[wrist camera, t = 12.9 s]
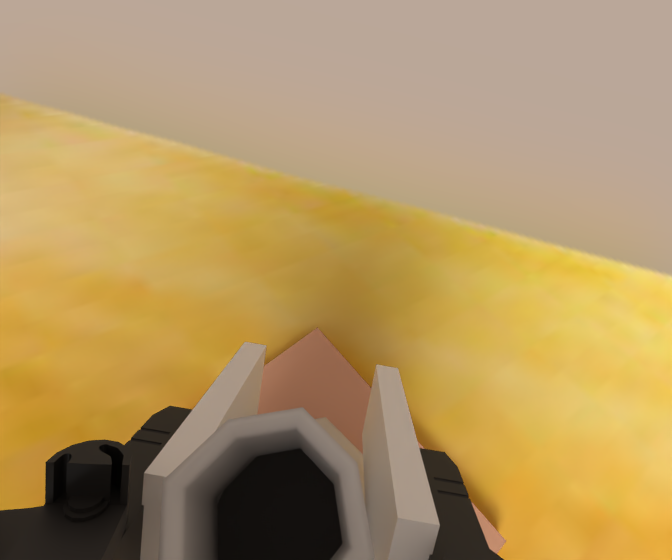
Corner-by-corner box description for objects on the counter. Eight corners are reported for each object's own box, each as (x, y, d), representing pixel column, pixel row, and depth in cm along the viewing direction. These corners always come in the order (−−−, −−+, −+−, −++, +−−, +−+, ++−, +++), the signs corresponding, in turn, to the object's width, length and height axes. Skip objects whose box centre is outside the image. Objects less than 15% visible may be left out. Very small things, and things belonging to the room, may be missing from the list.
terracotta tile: (86, 502, 16) (77, 500, 15) (316, 333, 20) (317, 327, 20) (255, 864, 11) (252, 886, 11) (497, 540, 16) (506, 541, 15)
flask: (168, 476, 15) (-28, 411, 6) (334, 389, 17) (354, 253, 8) (234, 716, 11) (15, 1249, 3) (431, 571, 14) (624, 647, 5)
